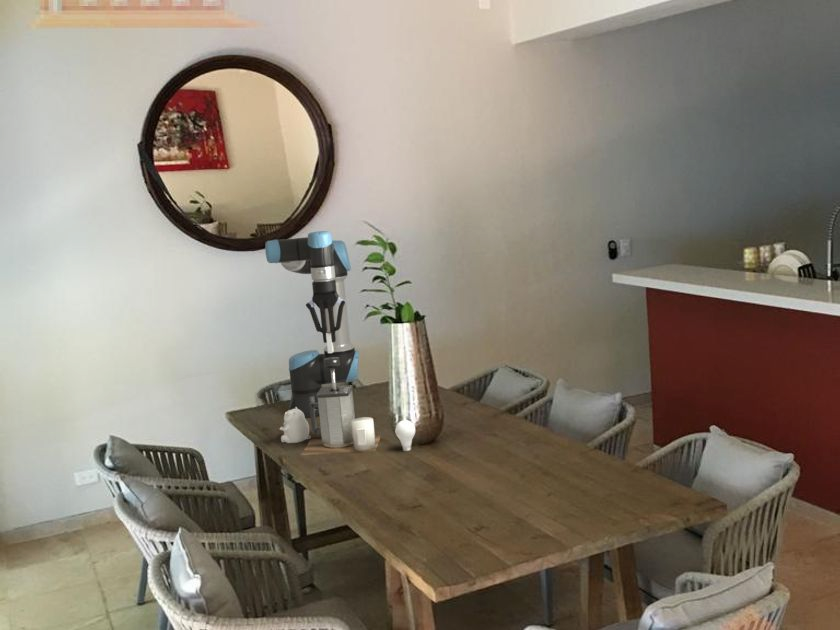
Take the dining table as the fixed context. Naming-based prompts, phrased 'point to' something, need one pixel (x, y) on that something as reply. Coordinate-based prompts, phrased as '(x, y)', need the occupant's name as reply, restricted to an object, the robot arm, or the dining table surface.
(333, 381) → the plunger
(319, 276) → the robot arm
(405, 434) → the lightbulb
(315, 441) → the board
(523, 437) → the dining table surface
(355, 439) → the mug
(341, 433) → the carafe
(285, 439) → the figurine
